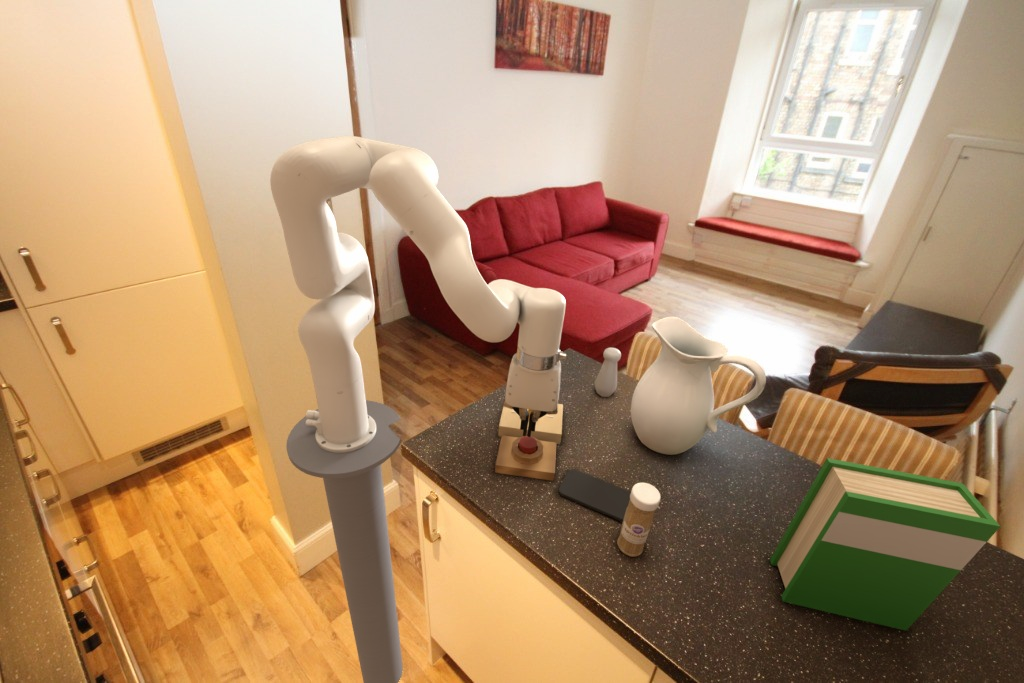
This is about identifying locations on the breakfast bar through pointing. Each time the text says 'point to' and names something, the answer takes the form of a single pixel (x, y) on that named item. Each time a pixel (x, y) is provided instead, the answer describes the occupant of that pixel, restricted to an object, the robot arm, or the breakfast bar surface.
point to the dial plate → (544, 430)
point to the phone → (595, 494)
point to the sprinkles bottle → (638, 518)
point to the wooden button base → (526, 459)
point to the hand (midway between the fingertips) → (527, 432)
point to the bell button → (527, 445)
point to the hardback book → (878, 542)
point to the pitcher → (684, 388)
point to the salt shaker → (608, 373)
